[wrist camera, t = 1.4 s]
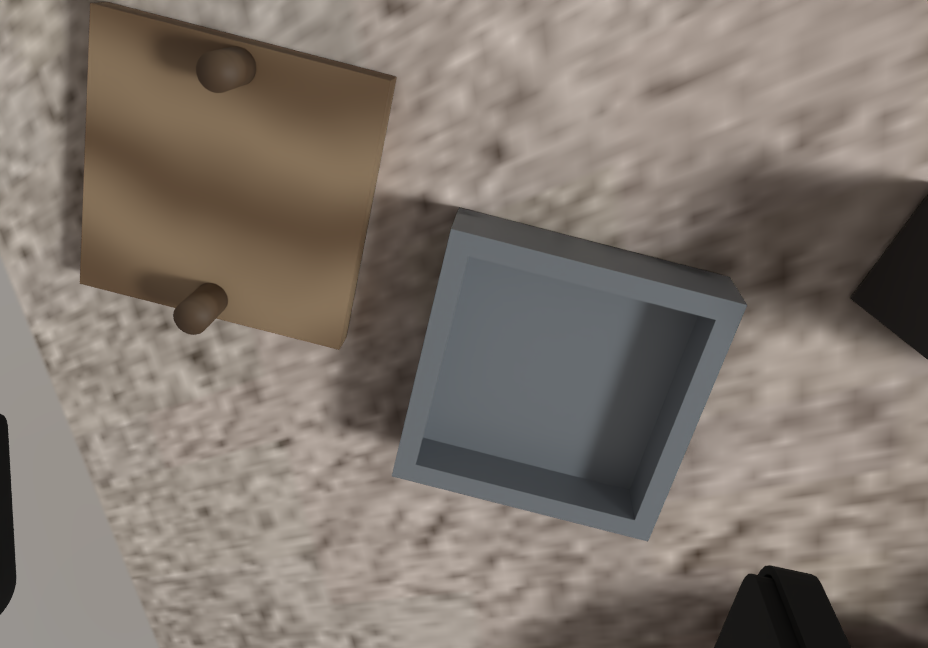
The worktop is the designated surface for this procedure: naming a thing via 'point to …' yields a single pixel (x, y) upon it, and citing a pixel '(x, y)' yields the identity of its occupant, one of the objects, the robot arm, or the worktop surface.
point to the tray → (563, 373)
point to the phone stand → (902, 284)
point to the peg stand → (227, 174)
